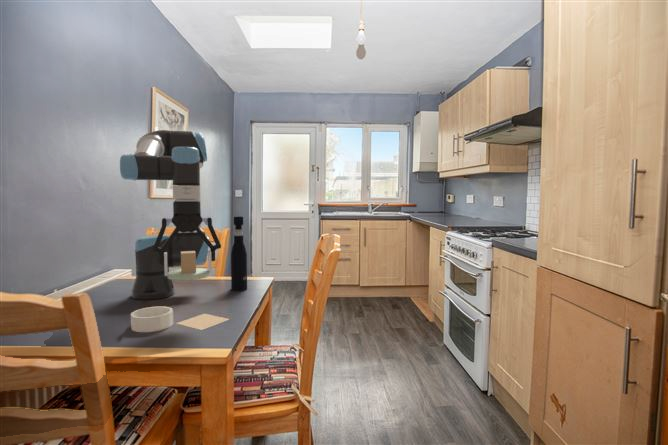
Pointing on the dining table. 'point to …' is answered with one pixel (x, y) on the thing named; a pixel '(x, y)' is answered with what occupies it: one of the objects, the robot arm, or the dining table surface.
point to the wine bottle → (238, 259)
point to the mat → (202, 321)
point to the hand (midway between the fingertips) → (188, 273)
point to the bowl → (151, 319)
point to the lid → (188, 268)
